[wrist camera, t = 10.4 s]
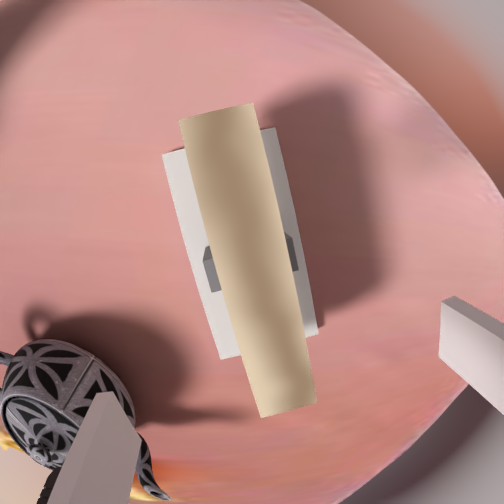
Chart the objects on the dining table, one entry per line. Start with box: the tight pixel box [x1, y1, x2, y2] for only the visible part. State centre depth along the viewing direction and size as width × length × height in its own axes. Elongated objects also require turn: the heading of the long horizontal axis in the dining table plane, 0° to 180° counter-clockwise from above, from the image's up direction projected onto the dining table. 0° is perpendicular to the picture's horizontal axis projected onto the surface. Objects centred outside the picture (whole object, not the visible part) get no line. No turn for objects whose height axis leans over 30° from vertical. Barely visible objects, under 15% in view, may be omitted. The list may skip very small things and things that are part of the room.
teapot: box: [0, 339, 171, 500], centre depth 29 cm, size 19×31×15 cm, turn 56°
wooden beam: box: [178, 103, 317, 418], centre depth 25 cm, size 5×24×6 cm, turn 13°
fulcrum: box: [162, 127, 318, 360], centre depth 31 cm, size 12×24×7 cm, turn 14°
